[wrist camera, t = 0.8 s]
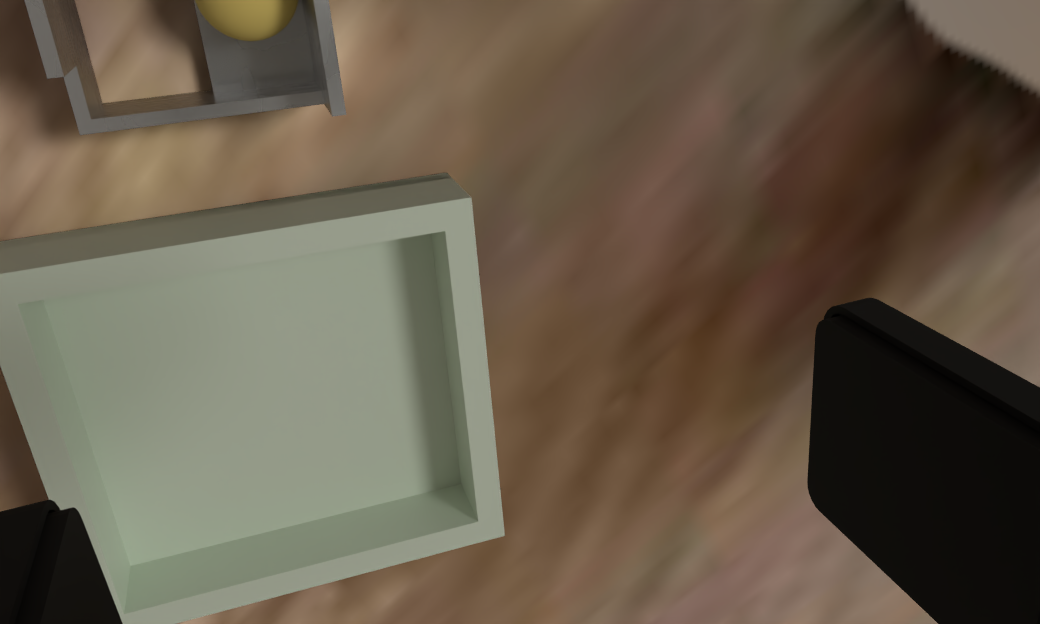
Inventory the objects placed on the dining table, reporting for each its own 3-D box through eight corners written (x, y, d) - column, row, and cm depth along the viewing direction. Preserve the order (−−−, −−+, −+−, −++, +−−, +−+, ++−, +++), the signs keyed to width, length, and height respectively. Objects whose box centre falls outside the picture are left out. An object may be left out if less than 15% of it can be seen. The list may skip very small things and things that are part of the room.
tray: (-5, 241, 28) (-32, 278, 25) (446, 172, 32) (471, 197, 29) (111, 579, 34) (101, 643, 31) (481, 486, 37) (504, 535, 34)
